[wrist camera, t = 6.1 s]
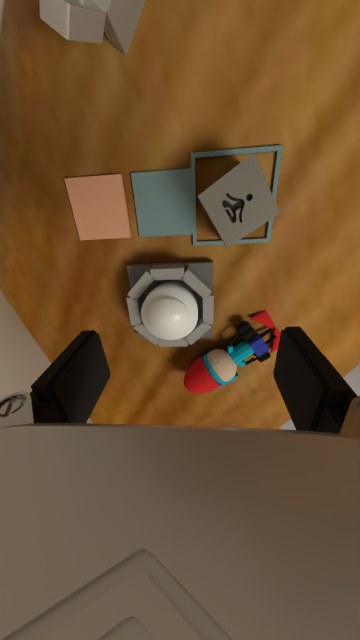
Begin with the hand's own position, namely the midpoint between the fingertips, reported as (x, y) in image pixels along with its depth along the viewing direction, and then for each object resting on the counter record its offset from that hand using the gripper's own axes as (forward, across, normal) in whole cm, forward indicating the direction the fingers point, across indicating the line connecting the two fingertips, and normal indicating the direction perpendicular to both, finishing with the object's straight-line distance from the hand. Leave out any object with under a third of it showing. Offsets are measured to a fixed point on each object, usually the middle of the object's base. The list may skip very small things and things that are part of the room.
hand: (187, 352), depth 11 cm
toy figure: (+17, -4, +12) cm, 21 cm away
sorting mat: (+17, +2, -7) cm, 18 cm away
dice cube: (+17, -4, -6) cm, 19 cm away
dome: (+15, +3, +4) cm, 16 cm away
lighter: (+17, +5, -19) cm, 26 cm away
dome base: (+16, +3, +4) cm, 17 cm away
